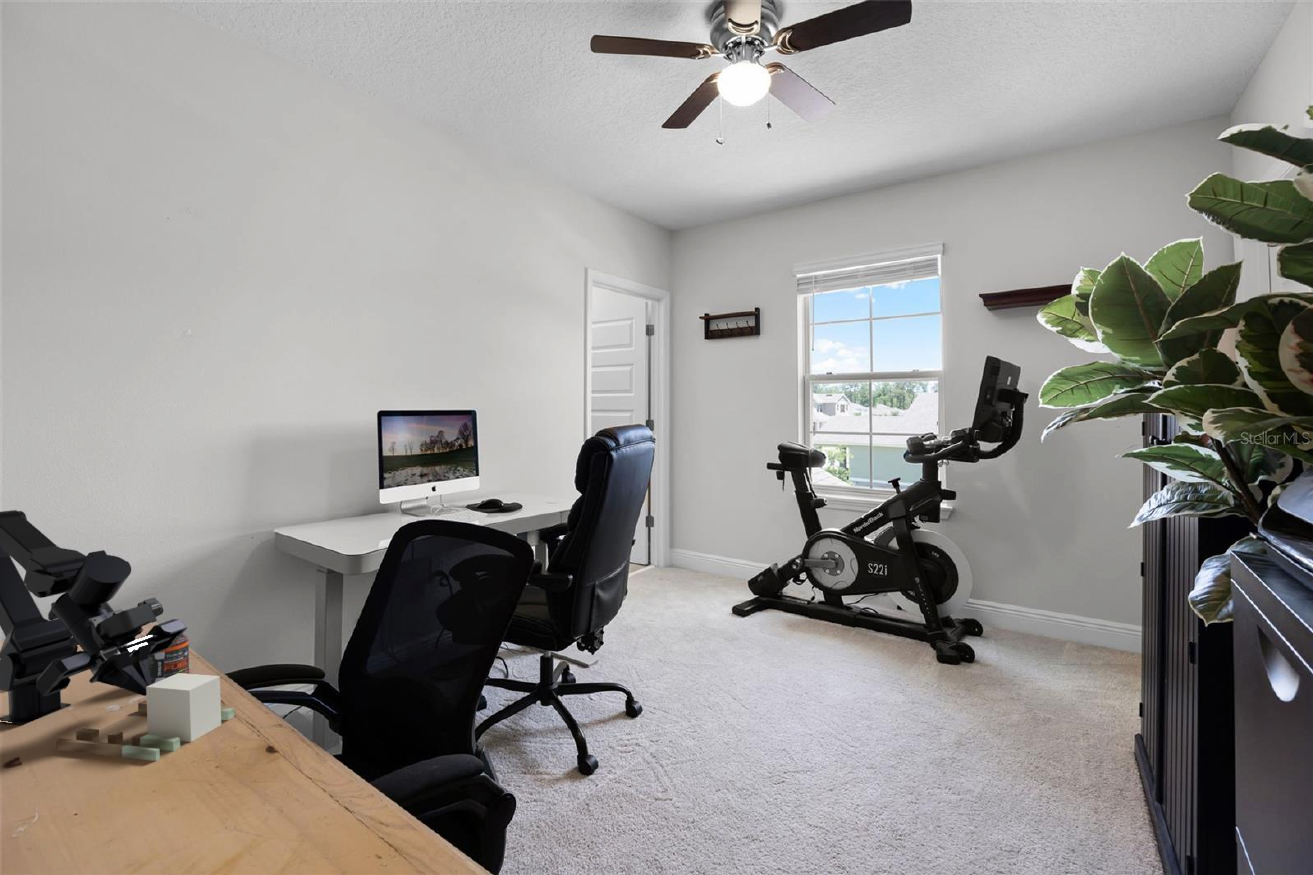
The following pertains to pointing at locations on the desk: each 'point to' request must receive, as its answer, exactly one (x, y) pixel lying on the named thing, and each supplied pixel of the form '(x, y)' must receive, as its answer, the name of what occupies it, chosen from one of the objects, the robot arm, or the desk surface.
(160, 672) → the supplement bottle
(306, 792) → the desk surface
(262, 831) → the desk surface
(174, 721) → the block
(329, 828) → the desk surface
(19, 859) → the desk surface
